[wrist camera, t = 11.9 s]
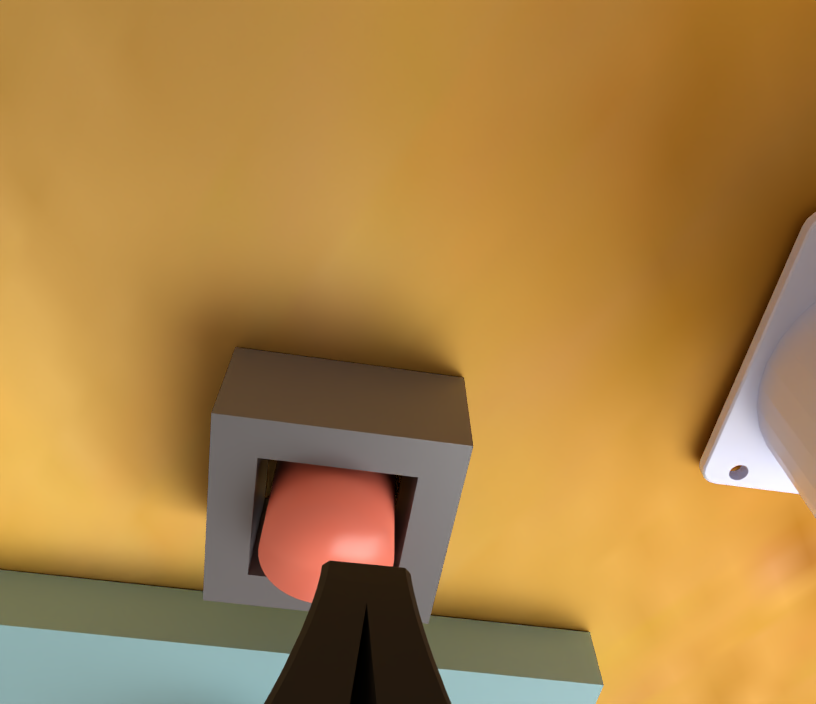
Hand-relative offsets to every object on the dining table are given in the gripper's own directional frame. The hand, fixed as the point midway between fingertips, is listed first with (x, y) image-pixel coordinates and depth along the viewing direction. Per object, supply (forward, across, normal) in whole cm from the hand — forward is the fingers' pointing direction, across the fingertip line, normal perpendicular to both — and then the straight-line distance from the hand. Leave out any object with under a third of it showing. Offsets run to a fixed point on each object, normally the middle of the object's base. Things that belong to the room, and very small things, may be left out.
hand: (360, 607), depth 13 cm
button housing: (+9, +1, +4) cm, 9 cm away
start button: (+8, +1, +4) cm, 9 cm away
